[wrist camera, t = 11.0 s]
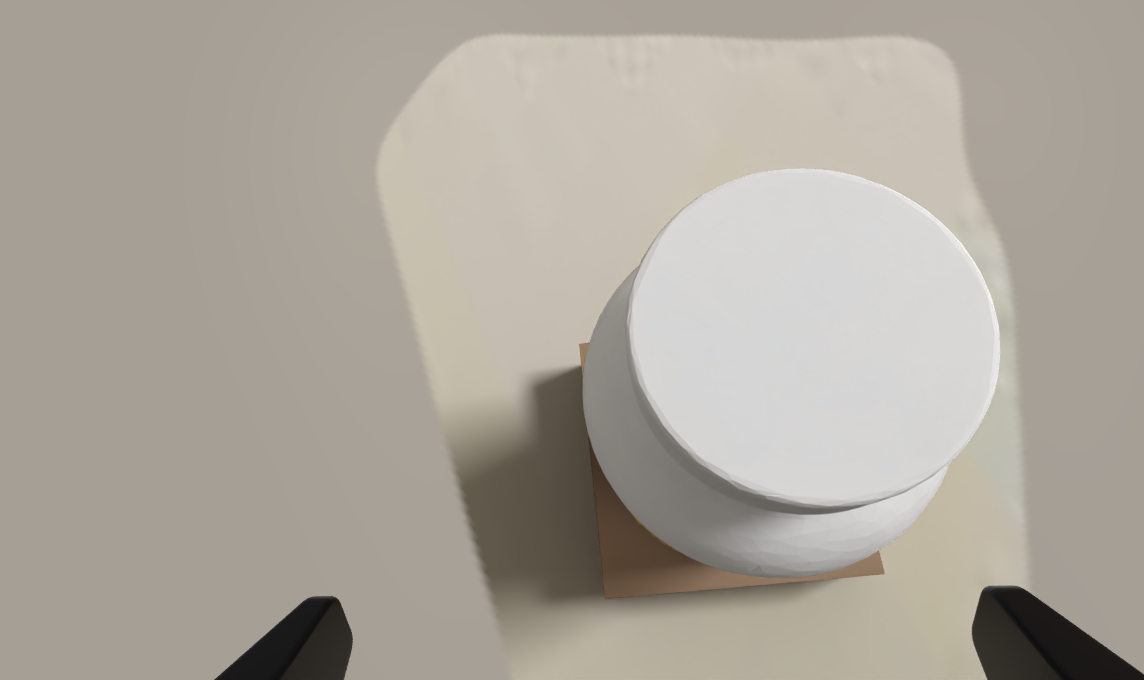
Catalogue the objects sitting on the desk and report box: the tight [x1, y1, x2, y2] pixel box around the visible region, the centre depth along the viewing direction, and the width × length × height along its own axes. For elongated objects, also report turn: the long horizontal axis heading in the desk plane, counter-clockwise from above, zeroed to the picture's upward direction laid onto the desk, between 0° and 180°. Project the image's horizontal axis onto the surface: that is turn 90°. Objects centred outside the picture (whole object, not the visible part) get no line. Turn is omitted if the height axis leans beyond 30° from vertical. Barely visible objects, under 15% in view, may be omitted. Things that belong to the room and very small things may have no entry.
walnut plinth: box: [579, 343, 884, 599], centre depth 21 cm, size 8×8×2 cm
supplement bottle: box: [583, 168, 1000, 578], centre depth 14 cm, size 7×7×13 cm
